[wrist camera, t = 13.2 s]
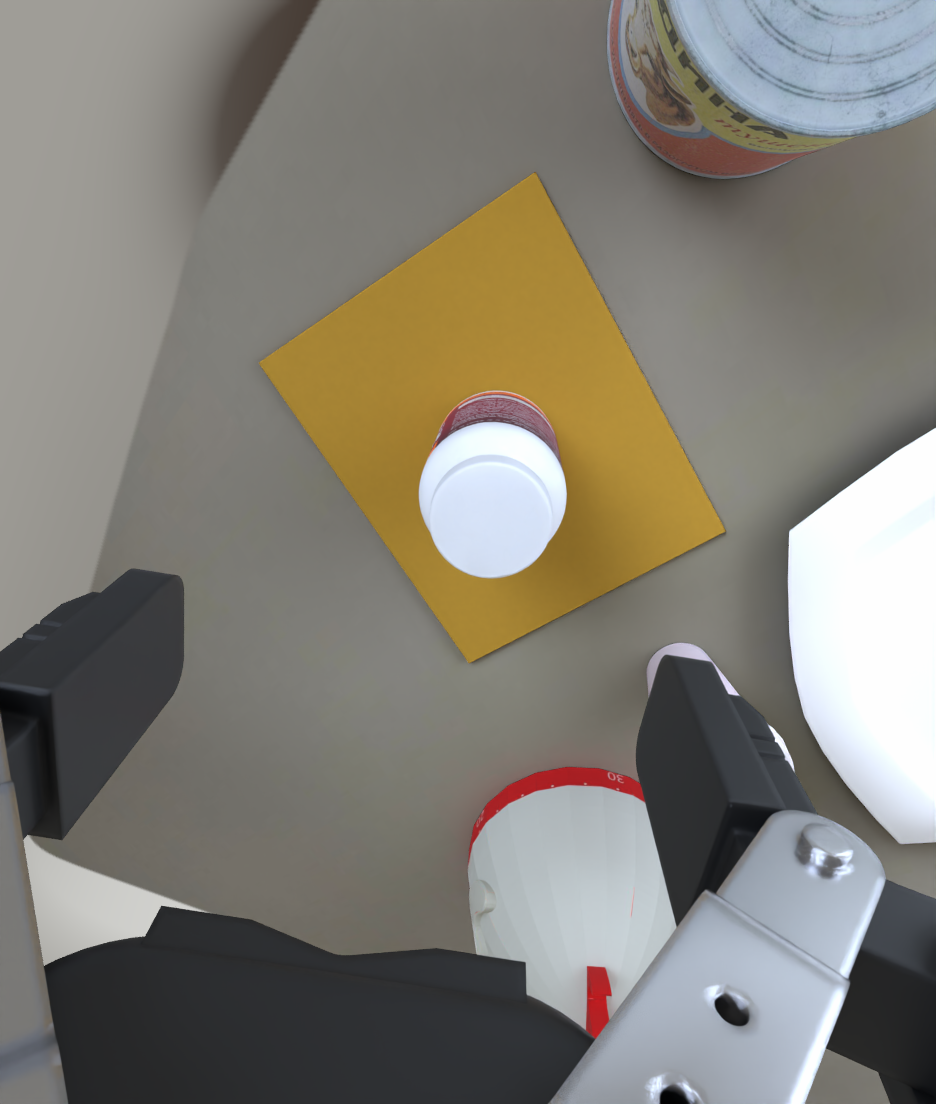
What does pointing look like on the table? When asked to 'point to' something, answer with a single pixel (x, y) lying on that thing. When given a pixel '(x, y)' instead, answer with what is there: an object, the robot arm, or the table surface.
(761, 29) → the canned food
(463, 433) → the pill bottle
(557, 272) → the cloth
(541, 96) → the table surface
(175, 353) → the table surface
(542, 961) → the kitchen timer
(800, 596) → the plate
